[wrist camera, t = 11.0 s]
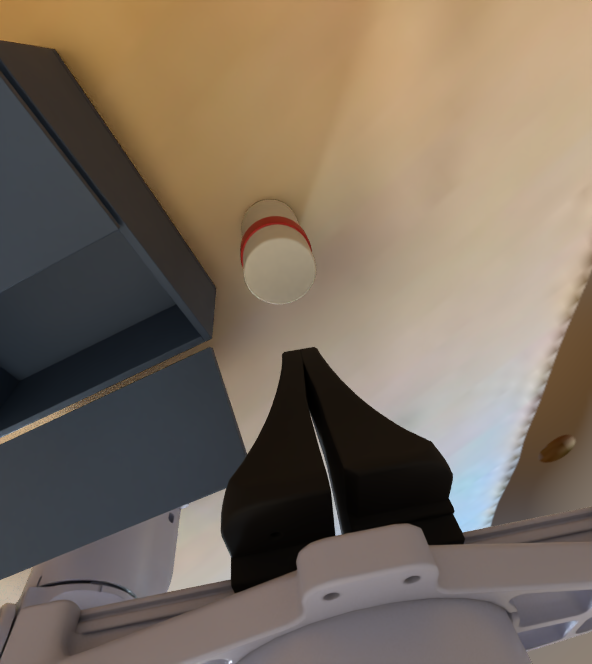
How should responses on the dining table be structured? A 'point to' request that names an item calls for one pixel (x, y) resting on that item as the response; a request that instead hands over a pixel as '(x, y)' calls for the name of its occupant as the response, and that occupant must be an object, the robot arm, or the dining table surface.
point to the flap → (117, 462)
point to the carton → (80, 250)
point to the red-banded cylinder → (275, 253)
